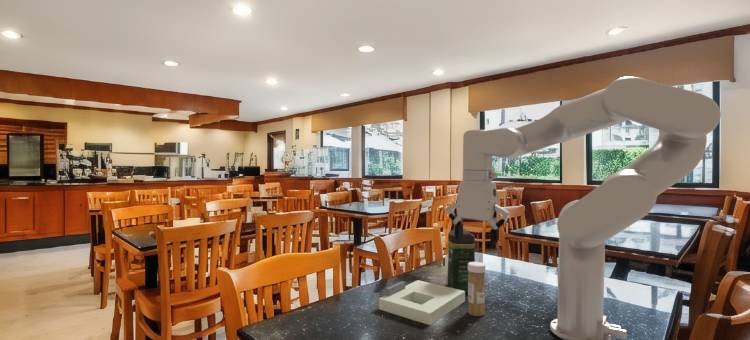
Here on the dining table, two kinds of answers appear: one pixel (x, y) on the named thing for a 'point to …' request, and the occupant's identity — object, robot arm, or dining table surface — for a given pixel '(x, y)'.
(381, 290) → the dining table surface
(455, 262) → the coffee jar
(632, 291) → the dining table surface
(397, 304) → the deck plate
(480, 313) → the sprinkles bottle
